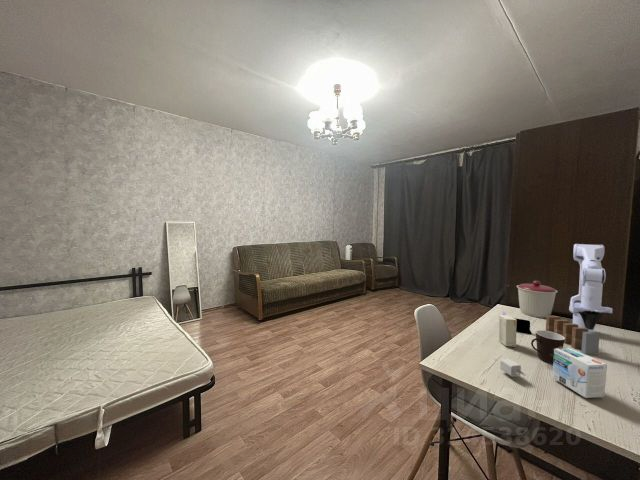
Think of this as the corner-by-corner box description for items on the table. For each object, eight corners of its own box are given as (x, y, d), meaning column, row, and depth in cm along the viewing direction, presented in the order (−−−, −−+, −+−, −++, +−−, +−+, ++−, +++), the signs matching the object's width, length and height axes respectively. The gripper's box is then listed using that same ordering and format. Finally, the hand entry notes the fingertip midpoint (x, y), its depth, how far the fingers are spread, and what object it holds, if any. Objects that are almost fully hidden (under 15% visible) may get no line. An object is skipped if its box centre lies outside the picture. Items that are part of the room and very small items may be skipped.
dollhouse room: (502, 330, 126) (503, 317, 125) (499, 322, 136) (500, 310, 136) (532, 335, 120) (533, 322, 119) (527, 327, 130) (528, 314, 130)
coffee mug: (555, 355, 101) (557, 331, 100) (568, 366, 93) (570, 341, 92) (521, 350, 105) (522, 328, 104) (531, 361, 97) (532, 336, 96)
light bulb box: (551, 377, 87) (553, 347, 86) (568, 376, 87) (570, 347, 86) (586, 398, 76) (588, 365, 75) (605, 397, 77) (608, 364, 76)
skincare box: (516, 347, 108) (517, 320, 107) (505, 346, 109) (506, 319, 108) (508, 340, 114) (509, 315, 113) (497, 339, 115) (499, 314, 114)
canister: (553, 324, 133) (556, 286, 132) (512, 315, 147) (513, 280, 145) (557, 316, 145) (559, 281, 143) (518, 308, 158) (520, 276, 157)
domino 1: (545, 333, 121) (546, 315, 121) (556, 334, 121) (557, 316, 120) (548, 335, 120) (549, 317, 119) (559, 335, 119) (560, 317, 119)
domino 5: (598, 354, 102) (599, 333, 101) (585, 354, 102) (586, 333, 101) (593, 352, 103) (595, 332, 103) (581, 352, 103) (582, 331, 103)
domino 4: (571, 347, 108) (572, 327, 107) (583, 347, 108) (584, 327, 107) (574, 348, 106) (575, 328, 106) (587, 349, 106) (588, 329, 106)
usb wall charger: (509, 368, 92) (510, 358, 92) (527, 380, 85) (528, 369, 85) (500, 369, 91) (500, 359, 91) (517, 381, 84) (517, 370, 84)
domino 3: (562, 342, 112) (563, 323, 112) (573, 342, 112) (575, 323, 111) (565, 344, 111) (566, 324, 110) (577, 344, 110) (578, 325, 110)
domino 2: (553, 337, 117) (554, 319, 116) (564, 338, 116) (565, 319, 116) (556, 339, 115) (557, 320, 115) (567, 339, 115) (569, 321, 114)
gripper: (580, 299, 99) (578, 331, 100) (621, 300, 97) (619, 333, 98) (565, 294, 106) (563, 324, 107) (603, 295, 104) (601, 326, 105)
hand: (589, 328), depth 103 cm, fingers closed
